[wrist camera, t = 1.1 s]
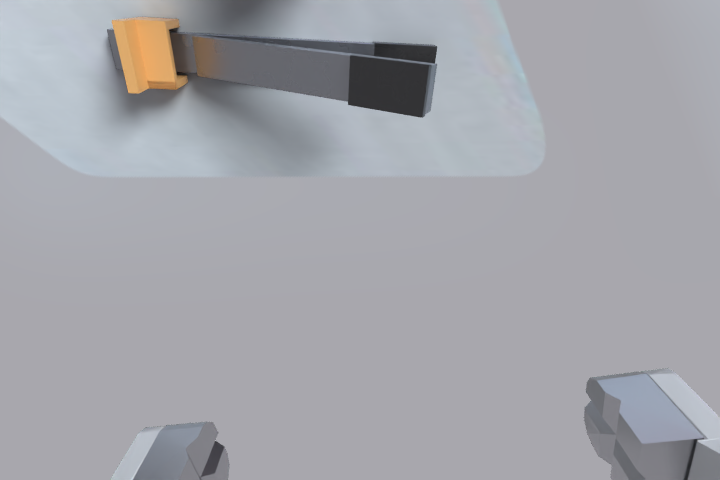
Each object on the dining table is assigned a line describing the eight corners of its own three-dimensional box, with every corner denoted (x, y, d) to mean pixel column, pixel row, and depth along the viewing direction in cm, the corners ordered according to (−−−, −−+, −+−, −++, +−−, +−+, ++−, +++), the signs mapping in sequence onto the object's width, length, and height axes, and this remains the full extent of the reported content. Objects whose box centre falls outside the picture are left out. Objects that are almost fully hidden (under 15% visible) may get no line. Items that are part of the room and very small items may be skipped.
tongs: (122, 68, 35) (116, 70, 34) (113, 27, 34) (106, 28, 33) (428, 82, 38) (431, 85, 37) (434, 45, 36) (437, 46, 35)
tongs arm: (208, 75, 35) (193, 78, 33) (202, 34, 33) (186, 35, 32) (430, 112, 28) (422, 117, 26) (437, 62, 26) (429, 65, 25)
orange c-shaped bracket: (153, 80, 36) (128, 92, 31) (140, 16, 33) (111, 20, 29) (188, 82, 36) (168, 94, 32) (178, 19, 34) (155, 22, 29)
